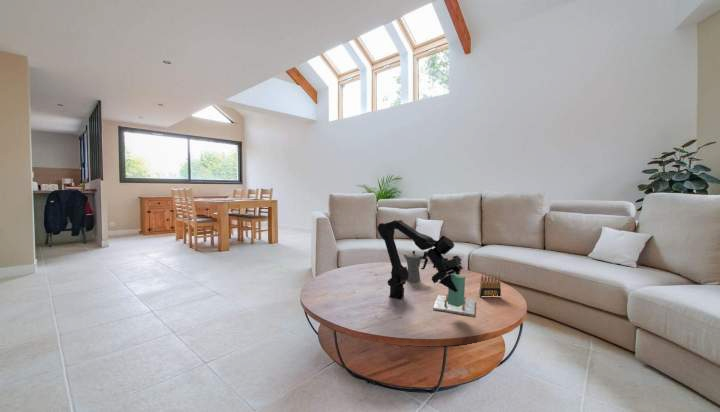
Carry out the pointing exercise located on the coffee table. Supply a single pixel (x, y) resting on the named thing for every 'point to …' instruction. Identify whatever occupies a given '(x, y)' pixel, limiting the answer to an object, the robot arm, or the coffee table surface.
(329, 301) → the coffee table surface
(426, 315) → the coffee table surface
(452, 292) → the green block
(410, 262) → the coffeepot
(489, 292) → the ammunition clip
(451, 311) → the chassis
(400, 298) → the robot arm
